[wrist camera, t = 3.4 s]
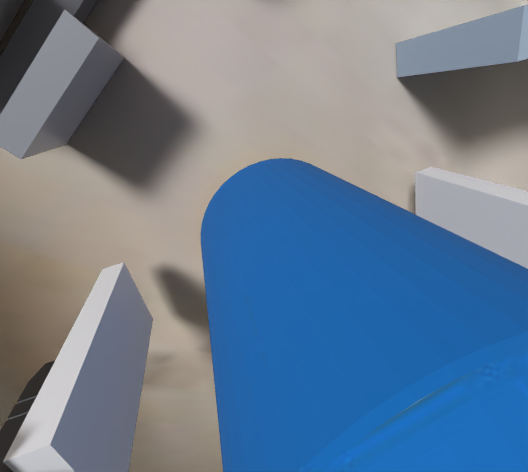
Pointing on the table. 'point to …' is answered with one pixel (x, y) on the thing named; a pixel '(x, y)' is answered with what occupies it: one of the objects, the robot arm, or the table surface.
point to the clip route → (49, 73)
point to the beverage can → (358, 332)
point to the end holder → (467, 45)
